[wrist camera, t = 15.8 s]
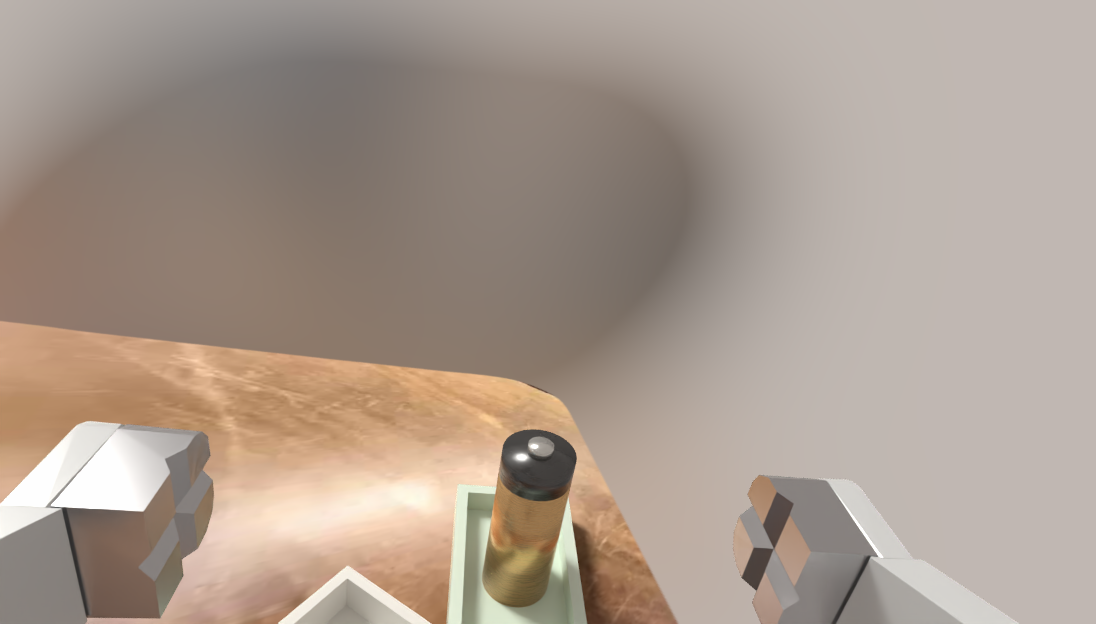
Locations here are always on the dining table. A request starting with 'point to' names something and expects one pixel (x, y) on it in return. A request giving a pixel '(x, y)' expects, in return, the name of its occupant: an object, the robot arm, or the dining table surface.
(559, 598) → the pale green tray
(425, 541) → the dining table surface
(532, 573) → the cell
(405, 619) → the small white open box
